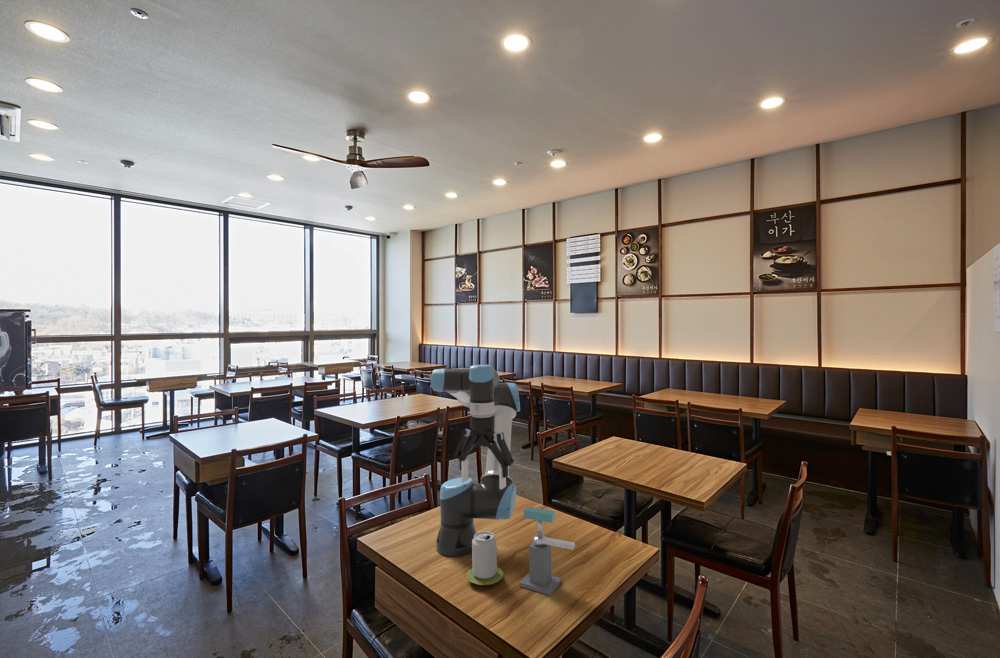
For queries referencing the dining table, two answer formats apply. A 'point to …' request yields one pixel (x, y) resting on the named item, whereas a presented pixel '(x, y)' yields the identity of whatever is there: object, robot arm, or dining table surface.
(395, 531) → the dining table surface
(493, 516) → the robot arm
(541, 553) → the grey pedestal post
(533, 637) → the dining table surface
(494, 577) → the mat
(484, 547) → the can
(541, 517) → the teal grip latch lever
